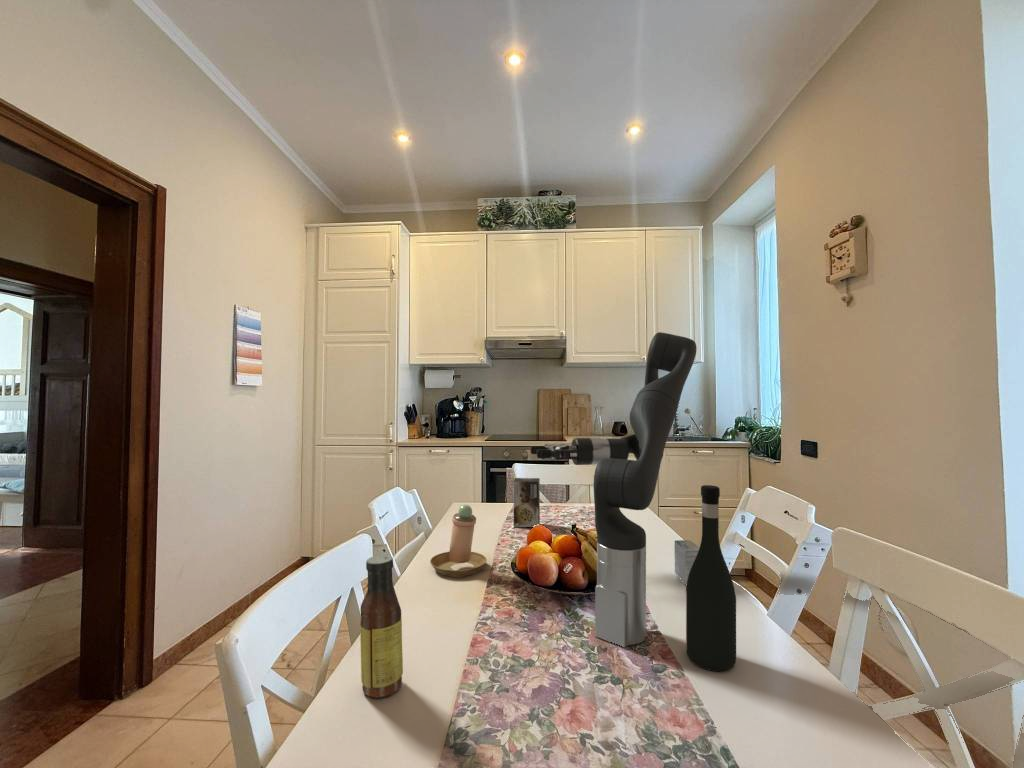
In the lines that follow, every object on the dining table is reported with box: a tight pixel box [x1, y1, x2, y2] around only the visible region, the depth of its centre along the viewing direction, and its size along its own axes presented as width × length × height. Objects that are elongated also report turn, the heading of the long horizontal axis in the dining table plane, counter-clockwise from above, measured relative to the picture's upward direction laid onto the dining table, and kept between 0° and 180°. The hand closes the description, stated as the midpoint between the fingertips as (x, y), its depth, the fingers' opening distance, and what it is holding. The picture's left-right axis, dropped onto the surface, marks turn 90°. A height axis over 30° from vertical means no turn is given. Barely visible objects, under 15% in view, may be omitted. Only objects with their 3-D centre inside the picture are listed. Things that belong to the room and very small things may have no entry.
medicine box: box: [674, 539, 700, 585], centre depth 116 cm, size 8×4×9 cm, turn 179°
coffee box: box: [512, 477, 541, 528], centre depth 163 cm, size 9×6×16 cm
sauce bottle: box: [359, 554, 404, 699], centre depth 73 cm, size 7×6×20 cm
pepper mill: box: [448, 504, 477, 564], centre depth 122 cm, size 6×6×14 cm
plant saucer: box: [429, 551, 487, 578], centre depth 123 cm, size 15×15×3 cm
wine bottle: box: [685, 484, 737, 672], centre depth 81 cm, size 8×8×30 cm
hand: (533, 451), depth 128 cm, fingers open, 8 cm apart
